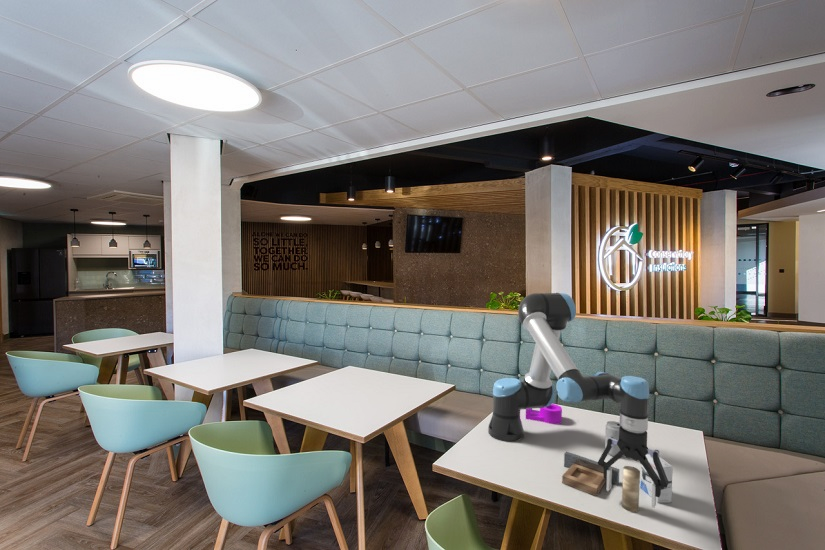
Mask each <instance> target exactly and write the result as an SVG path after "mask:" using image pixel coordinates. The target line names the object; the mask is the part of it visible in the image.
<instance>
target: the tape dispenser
mask: <svg viewBox="0 0 825 550" xmlns="http://www.w3.org/2000/svg"><path fill="white" fill-rule="evenodd" d="M562 414H563V408H562V407H561V406H560V405H558V404H554V403H552V404H551V405H550V406H548V407H544V408H539V410H537V409H536V410H535V409H525V420H529V419H530V421H536V422H542V423H546V424H551V425H558V424H561V423H562V422H563V421H562V419H563V418H562V417H563V415H562Z"/></svg>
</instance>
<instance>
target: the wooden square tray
mask: <svg viewBox="0 0 825 550" xmlns="http://www.w3.org/2000/svg"><path fill="white" fill-rule="evenodd" d="M561 477H562V479H561V484H564V485H567V486H568V487H572V488H575V489H577V490H580V491H582V492H584V493H588V494H590V495H593V496H595V497H597V496H598V494H599V493H600V491H602V488H603V487H604V485H606V484H607V482H606V479H605V478H604V474H603V473H600V472H597V471H595V470H592V469H589V468H586V467H583V466H580V465H577V464H575V463H573V464H572V466H571V467H570V468H567V470H566V471H565V472H564V473H563V474H562V476H561Z"/></svg>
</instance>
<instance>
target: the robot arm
mask: <svg viewBox="0 0 825 550" xmlns="http://www.w3.org/2000/svg"><path fill="white" fill-rule="evenodd" d="M517 314H518V315H517V316H518V319H519V322H520V323H521V326H522V327H523V329H524V330H526V331H528V332H529V334H530V336H531V337H532V339H533V341H534V342H535V344H534V348H533V349H534V350H533V353H532V357H531V358H532V359H531V363H530V366H529V367H530V368H529V372H526V373H525V374H524V377H523V380H522V381H521V380H520V379H518V378H516V377H511V378H510V377H503V378H499V379H498V380H495V382H494V384H493V389H492V416H491V419H490V422H489V424H488V427H487V428H488V429H487V431H488V434H489V435H490V436H491V437H492V438H494V439H496V440H498V441H499V440H500V441H503V442H504V441H505V442H517V441H520V440H522V439H523V438H524V435H525V434H524V433H525V430H524V426H523V422H522V420H521V410H526V409H532V410H534V409H540V408H544V407H548V406H550V405H551V404H554V401H555V398H556V391H557V396H558V398H559V399H560V400H561V401H563V402H564V403H565V402H566V403H580V402H587V401H600V400H611V401H613V402H615V403H618V404H619V423H620V425H621V426H620V427H619V440H616V439H614V438H613V437H610V438H609V439H608V440H607V446H606V448H605V447H604V450H603V451H602V454H601V455H600V457H599V459H598V460H597V462H598V465H601V466H602V467H603V468H604V478H605V479H607V482H606V491H607V492H610V490H611V489H612V484H611V482H612V468H611V467H612V466H613V464H615V463H616V462H617V461H618V460H620V459H621V458H622V457H623V456H624V457H625V458H627V459H632V460H633V461H636V462H637V461H639V463H640V464H641V465H643V467H644V468H645V470H646V471H647V473H648V474H649V476H650V478H651V479H652V481H653V482H654V483H653V485H652V497H651V508H653V509H655V508H656V505H657V502H656V497H660V495H661V487H665V488H666V487H667V486H668V483H669V482H668V479H667V477H666V474H665V471H664V469H663V466H662V464H661V461H660V459H659V457H660V450H658V449H655V450H654V449H650V448H648V447H649V446H648V428H649V414H648V413H649V402H650V384H649V382H648V380H646V379H645V378H642V377H638V376H634V375H625V376H622V377H621V378H619V377H617V376H615V375H614V374H611V373H609V372H604V371H597V372H595V373H594V374H592V375H590V376H583V374H582V373H581V372H580V370H579V369H578V367H577V366H576V364H575V362H574V361H573V360H572V358H571V356H570V354H568V352H567V351H566V349H565V348H564V345H563V344H562V343H561V341H560V340H559V339H560V336H561V332H562V331H565V330H566V328H567V323H569V322H572V321H573V320H575V317H576V315H577V308H576V304H575V302H574V299H573V298H572V296H570V295H569V294H568V293H563V292H553V293H551V292H549V293H548V292H546V293H545V292H544V293H543V292H542V293H539V292H538V293H537V292H536V293H535V292H534V293H530V294H528V295H526V296H525V297H524V298H523V299H522V300H521V301H520V303H519V306H518V310H517ZM552 372H553V374H554V376H555V377H556V379H557V382H556V386H554V384H553V382H552V380H551V378H550V377H551V373H552ZM555 390H556V391H555ZM615 444H617V445H618V447H619V448H620V451H619V452H618V453H617V454H616V455H614V456H612V457H611V458H610V459H609V460H608V461H605V460H606V458H607V457H608V455H609V454H608V453H609V451H610V450H611V448H612V446H615ZM647 454H650V456H651V458H653V462H654V464H655V467H656V470H657V472H658V475H659V477H660V479H659V477H658V476H657V474H656V473H655V471H654V469H653V468H652V466H651V465H650V463H649V462H648V459H647V457H646V456H645V455H647ZM610 466H611V467H610Z"/></svg>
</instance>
